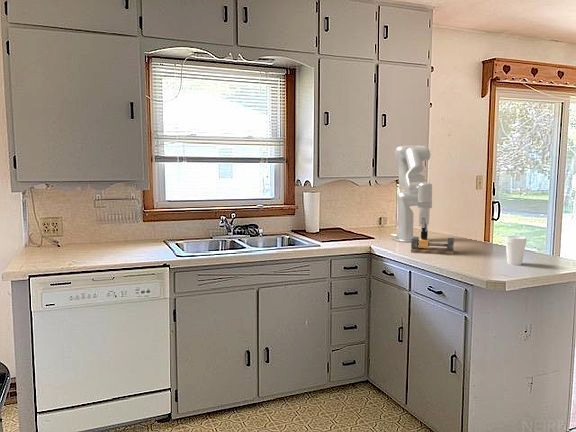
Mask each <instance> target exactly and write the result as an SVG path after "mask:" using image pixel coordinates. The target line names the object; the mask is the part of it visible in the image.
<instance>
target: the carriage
mask: <svg viewBox="0 0 576 432" xmlns="http://www.w3.org/2000/svg"><path fill="white" fill-rule="evenodd" d="M418 243H419V245H418V247H419V248H428V247H429V246H428V243H430V238H427V239H423V238H421V237H420V238H418Z"/></svg>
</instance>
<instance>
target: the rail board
mask: <svg viewBox="0 0 576 432" xmlns="http://www.w3.org/2000/svg"><path fill="white" fill-rule="evenodd" d="M419 239H420V238H419V236H413V237H412V239H411V242H410V243H411V246H410V247H411V248H410V253H413V254H414V253H415V254H429V255H430V254H432V255H433V254H435V255H447V256H448V255H454V251H455V250H454V246H455V245H454V244H455V243H454V241H455V240H454V239H455V238H454V237H448V238H447V240H446V241H447V243H437V242H429V243H428V248H419Z"/></svg>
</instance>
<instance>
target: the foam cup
mask: <svg viewBox="0 0 576 432" xmlns="http://www.w3.org/2000/svg"><path fill="white" fill-rule="evenodd" d="M504 243H505V251H506V252H505V253H506V260H507V264H508V265H511V264H512V265H511V266H521V264H522V265H523V260H524V255H525V254H524V253H525V249H526V244H527V237H526V236H521V235H507V236H504Z"/></svg>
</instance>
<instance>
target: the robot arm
mask: <svg viewBox="0 0 576 432" xmlns="http://www.w3.org/2000/svg"><path fill="white" fill-rule="evenodd" d="M430 150H431V149H429V147H427V146H425V145H416V144H415V145H400V146H397V147H396V148H395V151H394V152H395V153H394V156H395V157H394V158H395V161H396V164H397V167H398V186H399V187H400V189H402V191H399V192H398V193H397V195H396V202H397V233H390V237H391V238H395V241H396V242H402V243H411V239H412V237H414V217H415V216H414V211H413V210H412V209H411V207H417V208H418V210H419V211H418V212H419V213H418V226H420V227H421V230H420V238H423V239H428V236H429V235H428V226H429V224H430V213H431V212H430V209H432V208H433V184H432V183H430V182H427V181H426V179H425V177H424V175H423V174H421V173H422V172H423V171H424V168H425V167H424V165H423V162H429V160H430V159H431V151H430ZM403 189H404V190H403Z"/></svg>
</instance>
